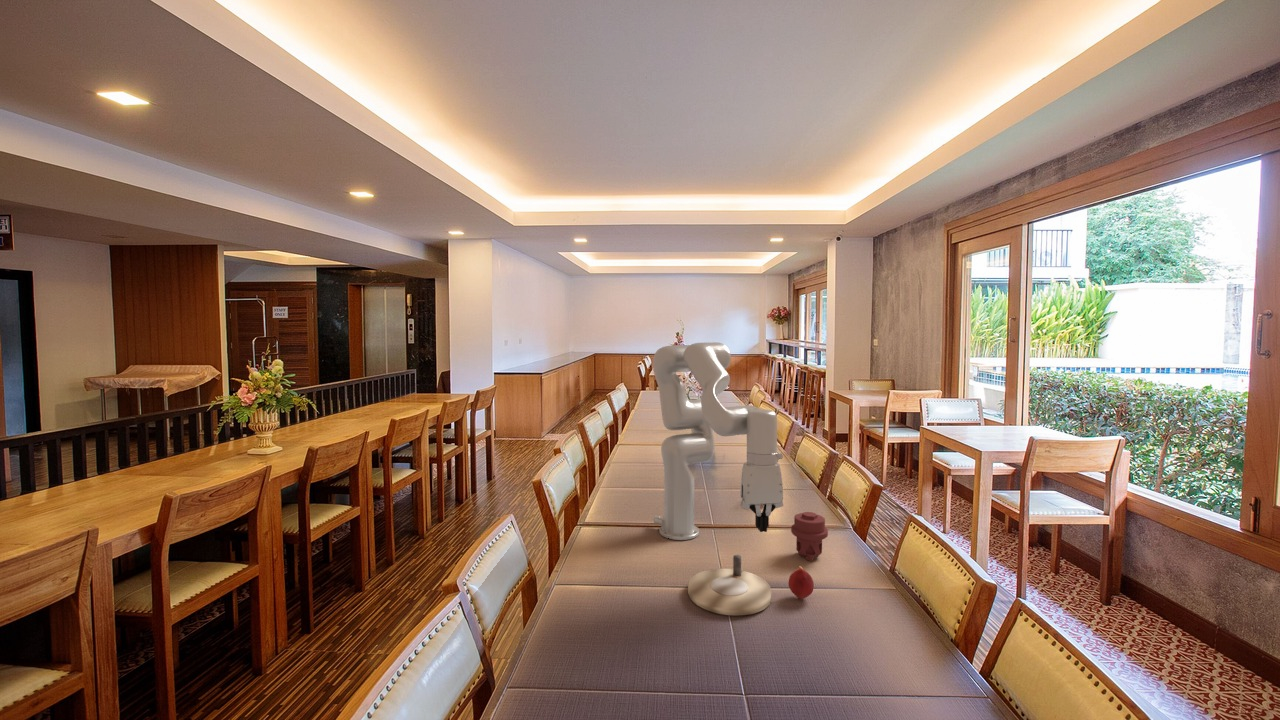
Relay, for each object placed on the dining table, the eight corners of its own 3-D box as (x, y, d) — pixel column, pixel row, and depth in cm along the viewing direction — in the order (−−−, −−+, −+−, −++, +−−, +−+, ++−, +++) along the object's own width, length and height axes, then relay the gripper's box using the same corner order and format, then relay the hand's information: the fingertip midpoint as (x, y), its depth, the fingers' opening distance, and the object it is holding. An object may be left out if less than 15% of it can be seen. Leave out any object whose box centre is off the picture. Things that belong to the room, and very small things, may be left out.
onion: (813, 595, 130) (814, 563, 130) (813, 606, 125) (813, 573, 124) (789, 591, 132) (789, 560, 132) (787, 602, 126) (787, 569, 126)
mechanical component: (824, 550, 156) (829, 565, 147) (789, 547, 158) (792, 562, 149) (825, 509, 156) (830, 521, 146) (790, 507, 158) (792, 518, 148)
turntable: (675, 603, 125) (675, 576, 125) (703, 569, 143) (704, 545, 143) (760, 623, 117) (760, 594, 116) (779, 584, 134) (779, 559, 134)
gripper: (785, 454, 139) (785, 524, 140) (729, 456, 138) (729, 526, 139) (795, 461, 131) (796, 534, 132) (736, 462, 130) (736, 536, 131)
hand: (762, 529), depth 135 cm, fingers closed
